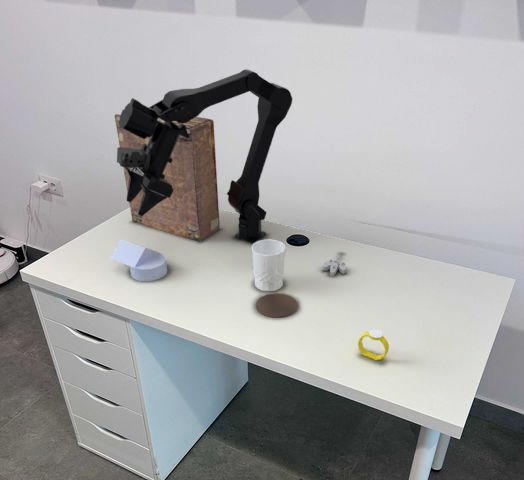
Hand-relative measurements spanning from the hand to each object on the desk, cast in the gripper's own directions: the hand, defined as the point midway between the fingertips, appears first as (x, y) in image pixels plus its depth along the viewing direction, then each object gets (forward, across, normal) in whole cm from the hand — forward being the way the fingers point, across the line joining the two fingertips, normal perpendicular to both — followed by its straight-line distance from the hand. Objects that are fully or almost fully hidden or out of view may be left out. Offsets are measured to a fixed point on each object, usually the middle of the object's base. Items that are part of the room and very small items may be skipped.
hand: (134, 208), depth 129 cm
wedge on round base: (+13, +3, +7) cm, 16 cm away
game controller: (-11, +25, +45) cm, 52 cm away
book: (+4, -17, +21) cm, 27 cm away
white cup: (0, +25, +28) cm, 37 cm away
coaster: (+1, +34, +25) cm, 42 cm away
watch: (-3, +59, +32) cm, 67 cm away
